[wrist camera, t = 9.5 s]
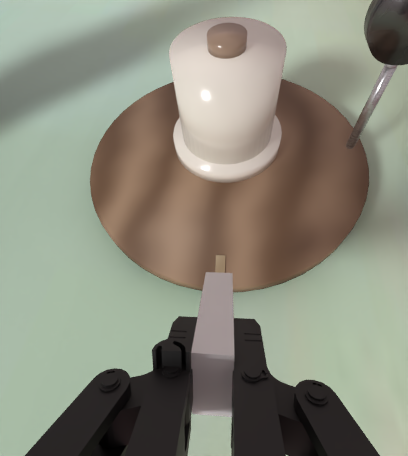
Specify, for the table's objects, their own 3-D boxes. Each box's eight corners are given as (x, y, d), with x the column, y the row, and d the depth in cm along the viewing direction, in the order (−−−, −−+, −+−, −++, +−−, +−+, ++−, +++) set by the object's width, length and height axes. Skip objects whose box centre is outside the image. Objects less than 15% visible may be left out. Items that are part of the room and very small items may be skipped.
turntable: (62, 285, 26) (53, 279, 24) (124, 85, 39) (120, 74, 38) (393, 300, 23) (405, 294, 22) (337, 81, 37) (342, 68, 35)
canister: (167, 179, 29) (138, 79, 19) (183, 106, 34) (167, -2, 25) (279, 185, 27) (307, 80, 18) (278, 108, 33) (299, -5, 23)
